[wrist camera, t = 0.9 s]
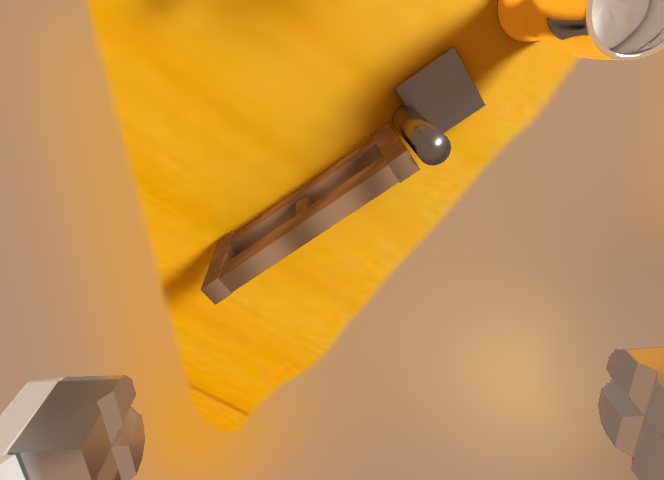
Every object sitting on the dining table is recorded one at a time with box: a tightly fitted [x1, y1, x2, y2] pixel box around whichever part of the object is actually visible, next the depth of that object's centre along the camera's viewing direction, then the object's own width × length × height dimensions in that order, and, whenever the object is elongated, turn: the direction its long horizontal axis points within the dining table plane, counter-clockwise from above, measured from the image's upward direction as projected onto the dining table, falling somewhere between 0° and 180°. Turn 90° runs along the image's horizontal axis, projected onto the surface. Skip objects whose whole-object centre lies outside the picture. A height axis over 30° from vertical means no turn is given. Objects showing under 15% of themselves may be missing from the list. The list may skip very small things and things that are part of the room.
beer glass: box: [498, 0, 664, 61], centre depth 35 cm, size 7×7×15 cm
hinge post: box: [393, 47, 485, 165], centre depth 40 cm, size 6×8×11 cm
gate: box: [201, 123, 420, 305], centre depth 42 cm, size 20×3×10 cm, turn 125°
